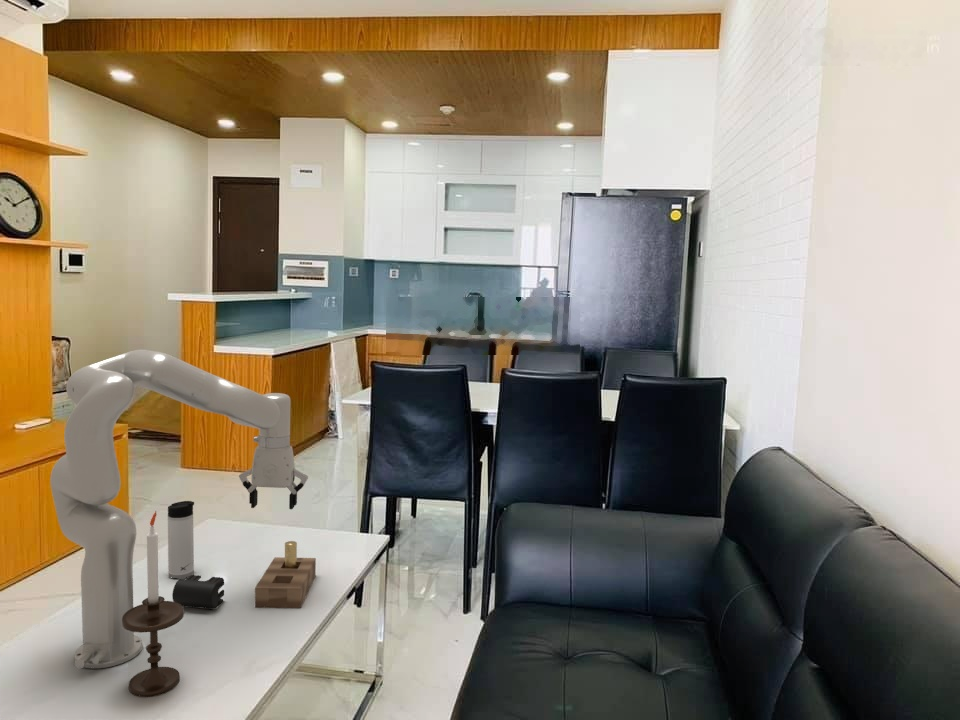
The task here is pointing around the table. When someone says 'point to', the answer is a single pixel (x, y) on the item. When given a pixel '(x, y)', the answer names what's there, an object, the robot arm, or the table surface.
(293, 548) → the brass peg
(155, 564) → the candlestick
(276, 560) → the hole block
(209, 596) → the end cap
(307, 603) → the table surface
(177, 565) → the travel mug
